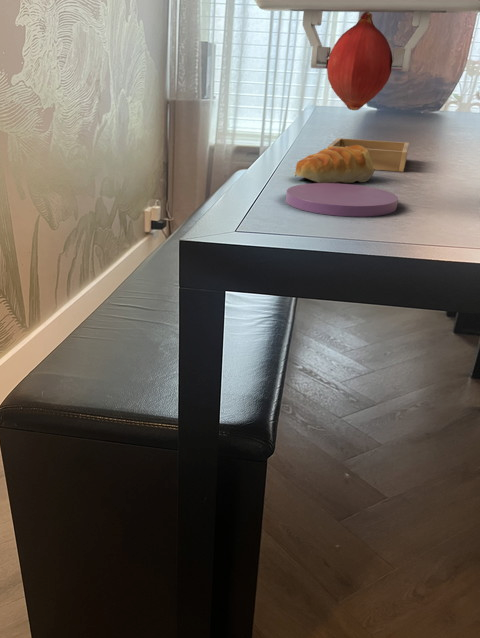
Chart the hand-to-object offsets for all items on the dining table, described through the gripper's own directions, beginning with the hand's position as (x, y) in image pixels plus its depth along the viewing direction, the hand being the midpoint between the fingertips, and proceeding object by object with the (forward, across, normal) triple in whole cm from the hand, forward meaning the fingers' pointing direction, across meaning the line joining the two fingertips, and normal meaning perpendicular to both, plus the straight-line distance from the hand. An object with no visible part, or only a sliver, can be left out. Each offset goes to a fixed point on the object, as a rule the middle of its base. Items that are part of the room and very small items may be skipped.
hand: (358, 70), depth 56 cm
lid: (+12, 0, 0) cm, 12 cm away
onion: (+4, 0, 0) cm, 4 cm away
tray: (+12, 0, -28) cm, 31 cm away
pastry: (+12, +2, -14) cm, 18 cm away
